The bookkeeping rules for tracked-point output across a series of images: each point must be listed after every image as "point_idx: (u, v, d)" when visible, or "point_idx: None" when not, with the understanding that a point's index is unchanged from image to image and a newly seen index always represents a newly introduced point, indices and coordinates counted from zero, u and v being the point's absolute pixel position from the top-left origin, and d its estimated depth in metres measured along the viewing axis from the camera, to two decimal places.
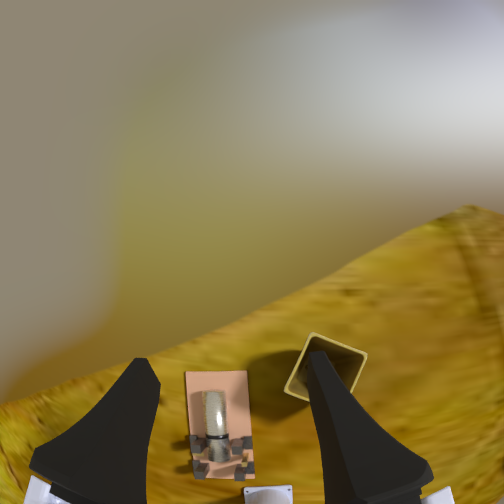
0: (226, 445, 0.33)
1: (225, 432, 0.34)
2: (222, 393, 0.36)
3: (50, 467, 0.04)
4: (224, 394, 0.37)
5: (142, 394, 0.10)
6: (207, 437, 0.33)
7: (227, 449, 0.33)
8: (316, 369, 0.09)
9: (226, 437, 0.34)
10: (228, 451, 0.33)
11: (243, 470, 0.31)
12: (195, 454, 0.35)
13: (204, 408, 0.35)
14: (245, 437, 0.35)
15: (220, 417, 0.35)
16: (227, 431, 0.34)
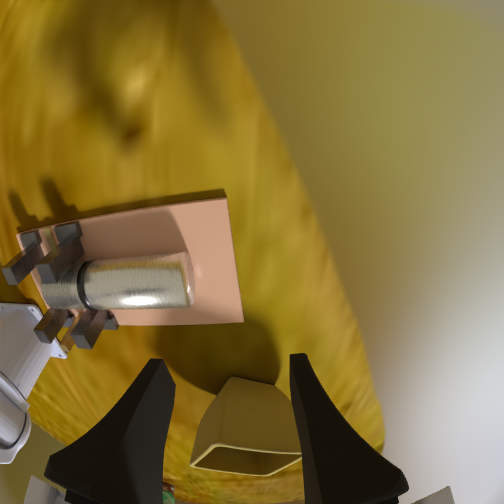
0: (77, 308, 0.17)
1: (100, 309, 0.17)
2: (183, 307, 0.17)
3: (69, 475, 0.04)
4: None
5: (159, 396, 0.10)
6: (79, 274, 0.16)
7: (71, 308, 0.17)
8: (295, 372, 0.09)
9: (90, 309, 0.17)
10: None
11: (55, 333, 0.19)
12: (47, 234, 0.17)
13: (138, 267, 0.16)
14: (112, 321, 0.21)
15: (127, 305, 0.16)
16: None
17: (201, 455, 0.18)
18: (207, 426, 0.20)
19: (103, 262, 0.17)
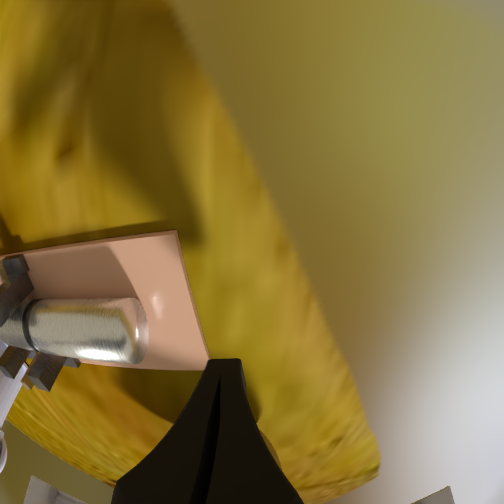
0: (29, 349, 0.13)
1: None
2: None
3: (152, 502, 0.04)
4: None
5: None
6: (24, 315, 0.12)
7: (24, 348, 0.13)
8: (222, 376, 0.09)
9: None
10: None
11: (18, 368, 0.14)
12: None
13: (77, 315, 0.12)
14: (71, 359, 0.17)
15: (71, 356, 0.12)
16: None
17: None
18: None
19: (46, 304, 0.12)
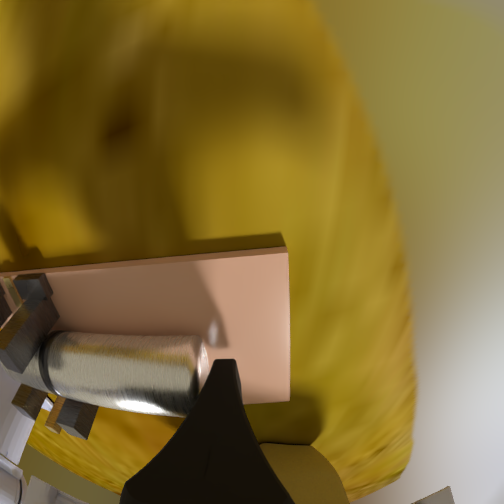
0: None
1: None
2: None
3: None
4: None
5: None
6: (40, 355, 0.09)
7: None
8: (217, 376, 0.09)
9: None
10: None
11: (39, 406, 0.12)
12: (8, 286, 0.10)
13: (121, 362, 0.09)
14: None
15: (111, 407, 0.09)
16: None
17: None
18: None
19: (71, 342, 0.10)
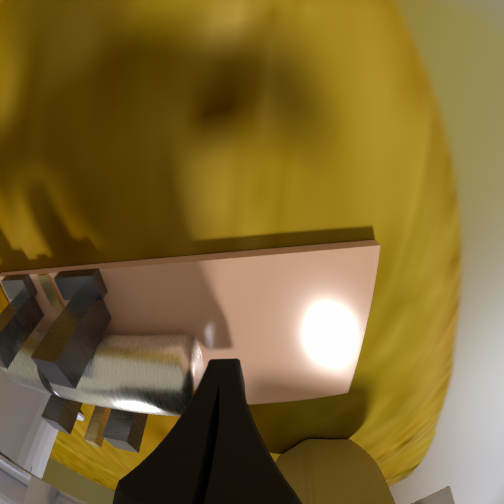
0: None
1: None
2: None
3: (153, 502, 0.04)
4: None
5: None
6: None
7: None
8: (221, 376, 0.09)
9: None
10: None
11: (74, 418, 0.11)
12: (44, 284, 0.10)
13: (115, 361, 0.09)
14: None
15: (107, 407, 0.09)
16: None
17: None
18: None
19: None
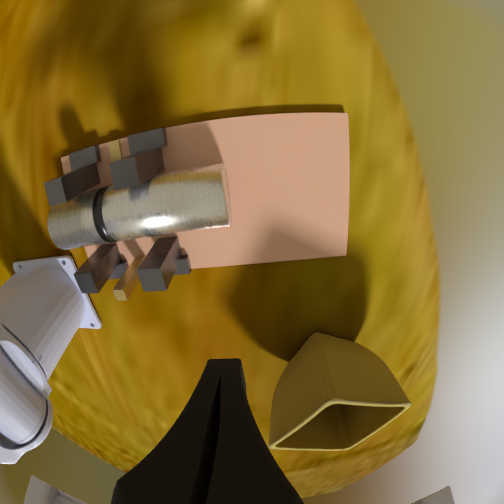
0: (87, 241, 0.15)
1: (117, 237, 0.15)
2: (222, 222, 0.15)
3: (151, 502, 0.04)
4: (219, 226, 0.15)
5: None
6: (97, 194, 0.14)
7: (80, 243, 0.15)
8: (222, 376, 0.09)
9: (104, 240, 0.15)
10: (77, 246, 0.15)
11: (104, 280, 0.16)
12: (113, 148, 0.15)
13: (171, 176, 0.14)
14: (185, 261, 0.19)
15: (152, 224, 0.14)
16: (122, 239, 0.15)
17: (298, 425, 0.16)
18: (298, 390, 0.18)
19: None
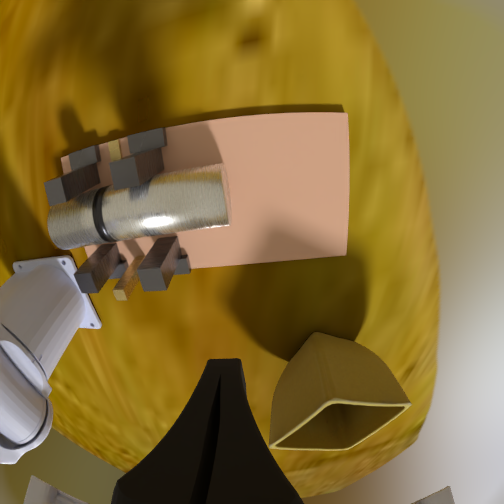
0: (87, 241, 0.15)
1: (117, 237, 0.15)
2: (222, 222, 0.15)
3: (151, 502, 0.04)
4: (219, 225, 0.15)
5: None
6: (97, 194, 0.14)
7: (80, 243, 0.15)
8: (222, 376, 0.09)
9: (104, 240, 0.15)
10: (77, 246, 0.15)
11: (104, 280, 0.16)
12: (112, 148, 0.15)
13: (171, 176, 0.14)
14: (185, 261, 0.19)
15: (152, 224, 0.14)
16: (122, 239, 0.15)
17: (298, 425, 0.16)
18: (298, 389, 0.18)
19: None
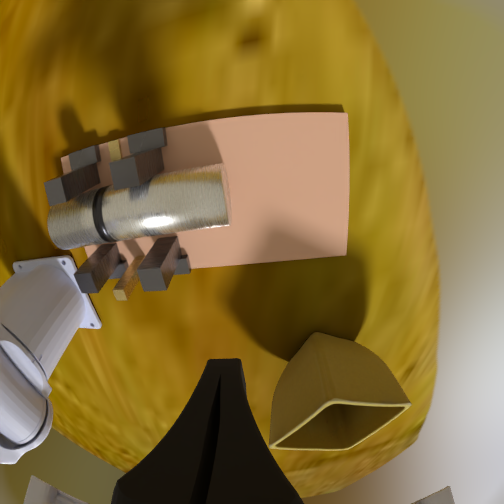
0: (87, 241, 0.15)
1: (117, 237, 0.15)
2: (222, 222, 0.15)
3: (151, 502, 0.04)
4: (219, 225, 0.15)
5: None
6: (97, 194, 0.14)
7: (80, 243, 0.15)
8: (222, 376, 0.09)
9: (104, 240, 0.15)
10: (77, 246, 0.15)
11: (104, 280, 0.16)
12: (112, 148, 0.15)
13: (171, 176, 0.14)
14: (185, 261, 0.19)
15: (152, 224, 0.14)
16: (122, 239, 0.15)
17: (298, 425, 0.16)
18: (298, 390, 0.18)
19: None
